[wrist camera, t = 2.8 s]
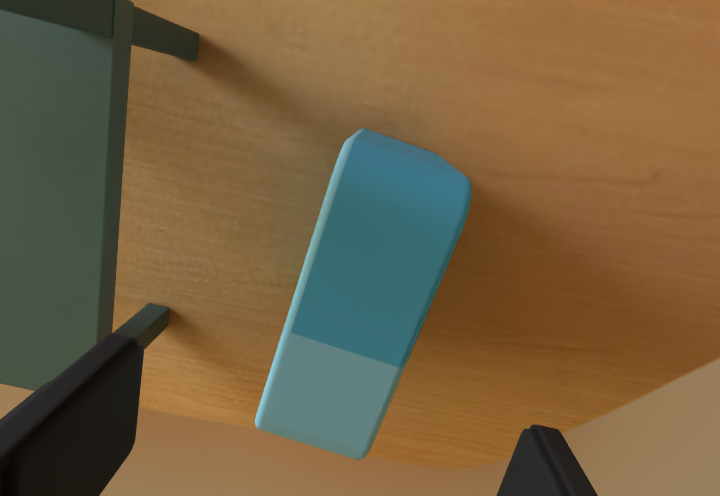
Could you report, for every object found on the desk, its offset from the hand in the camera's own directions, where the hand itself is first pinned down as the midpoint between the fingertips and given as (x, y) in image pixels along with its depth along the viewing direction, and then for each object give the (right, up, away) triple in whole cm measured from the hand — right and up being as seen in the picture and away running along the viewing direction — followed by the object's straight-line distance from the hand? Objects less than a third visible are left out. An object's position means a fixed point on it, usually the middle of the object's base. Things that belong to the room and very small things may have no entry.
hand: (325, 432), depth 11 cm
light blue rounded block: (+1, +5, +16) cm, 17 cm away
